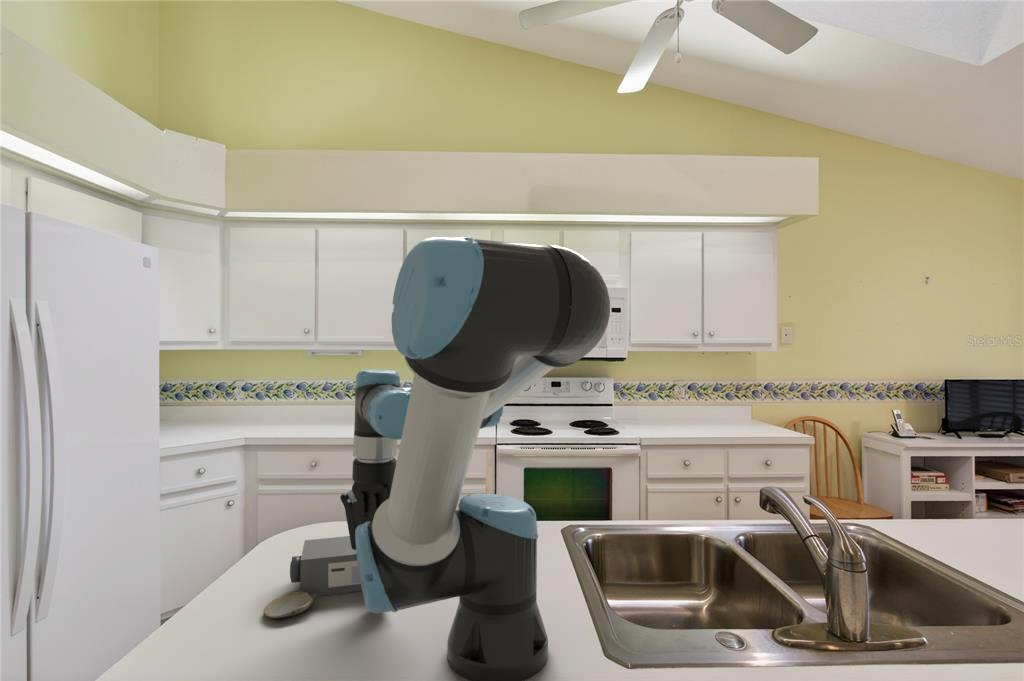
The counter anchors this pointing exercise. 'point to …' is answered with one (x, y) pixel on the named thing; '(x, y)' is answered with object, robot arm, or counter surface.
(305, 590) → the camera body
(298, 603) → the seashell
